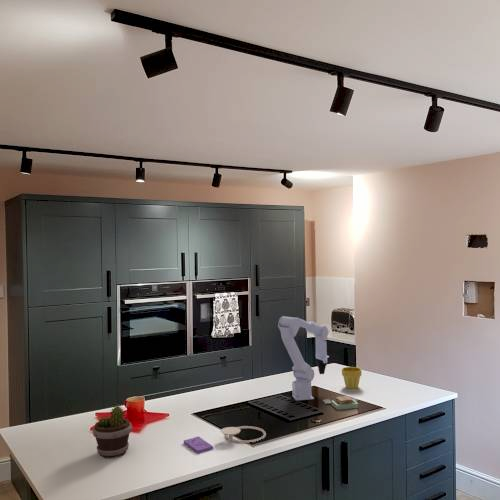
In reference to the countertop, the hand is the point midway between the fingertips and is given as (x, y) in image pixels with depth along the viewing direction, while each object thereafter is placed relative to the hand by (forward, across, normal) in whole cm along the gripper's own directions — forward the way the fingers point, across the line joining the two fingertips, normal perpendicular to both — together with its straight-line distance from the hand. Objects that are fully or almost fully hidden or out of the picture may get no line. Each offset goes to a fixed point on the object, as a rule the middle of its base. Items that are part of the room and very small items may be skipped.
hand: (321, 373), depth 271 cm
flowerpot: (+10, -57, +102) cm, 117 cm away
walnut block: (+10, -26, -3) cm, 28 cm away
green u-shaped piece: (+9, -23, -3) cm, 25 cm away
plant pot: (+10, +4, -18) cm, 21 cm away
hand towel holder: (+10, -52, +51) cm, 73 cm away
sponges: (+10, -58, +69) cm, 91 cm away
